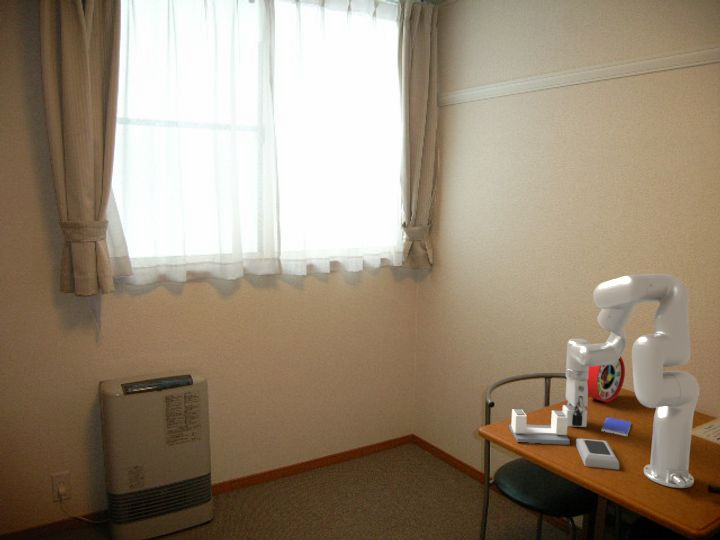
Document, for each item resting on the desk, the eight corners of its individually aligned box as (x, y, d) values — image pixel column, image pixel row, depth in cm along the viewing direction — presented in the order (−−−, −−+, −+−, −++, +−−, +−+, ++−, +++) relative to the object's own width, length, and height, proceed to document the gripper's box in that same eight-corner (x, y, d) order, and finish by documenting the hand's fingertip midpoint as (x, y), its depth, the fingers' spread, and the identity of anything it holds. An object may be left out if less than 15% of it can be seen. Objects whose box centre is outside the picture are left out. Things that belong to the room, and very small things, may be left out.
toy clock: (594, 406, 210) (598, 357, 208) (581, 402, 215) (584, 353, 213) (623, 397, 221) (626, 350, 219) (610, 393, 226) (613, 347, 224)
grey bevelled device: (607, 438, 173) (619, 459, 159) (606, 449, 174) (618, 470, 159) (576, 435, 175) (585, 455, 161) (575, 446, 176) (584, 467, 161)
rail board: (569, 444, 176) (570, 420, 175) (517, 442, 176) (518, 418, 176) (558, 429, 187) (559, 406, 186) (509, 428, 188) (510, 405, 187)
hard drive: (627, 433, 183) (631, 421, 193) (601, 428, 187) (606, 416, 197) (627, 437, 183) (630, 425, 193) (601, 432, 187) (606, 420, 197)
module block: (586, 427, 190) (587, 410, 190) (566, 426, 191) (567, 409, 190) (581, 421, 195) (582, 405, 195) (561, 420, 196) (562, 404, 195)
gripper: (596, 381, 182) (593, 432, 184) (579, 366, 199) (576, 413, 201) (574, 380, 183) (571, 431, 185) (558, 366, 200) (556, 412, 202)
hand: (574, 421), depth 193 cm, fingers open, 5 cm apart
